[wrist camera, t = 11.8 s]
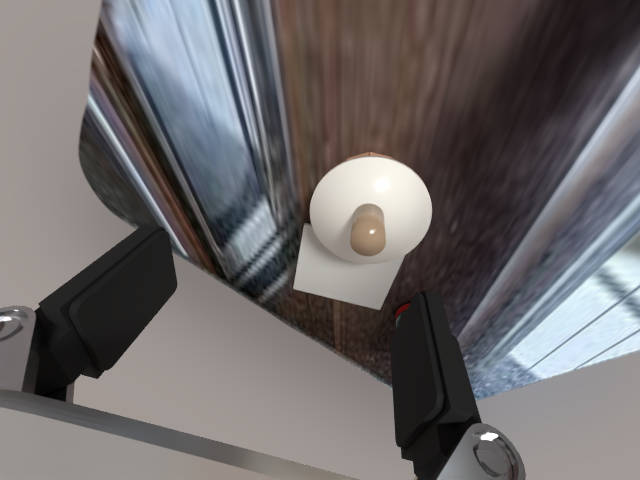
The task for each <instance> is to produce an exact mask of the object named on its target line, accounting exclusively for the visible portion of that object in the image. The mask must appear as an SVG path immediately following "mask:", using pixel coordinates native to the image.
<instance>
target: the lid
mask: <svg viewBox="0 0 640 480" xmlns="http://www.w3.org/2000/svg"><path fill="white" fill-rule="evenodd" d="M431 217H432V204H431V199H430V195H429V193H428V190H427V188H426V186H425V184H424V182H423V181H422V179H421V178H420V177H419V176H418V175H417V173H416V172H414V171H413V170H412V169H411V168H410V167H408V166H406V165H405V164H403V163H401V162H399V161H397V160H394V159H391V158H388V157H382V156H360V157H356V158H352V159H349V160H347V161H344V162H342V163H340V164H338V165H337V166H335V167H334V168H332V169H331V170H330V171H329V172H328V173H327V174H325V175H324V177H323V178H322V179H321V180H320V182H319V183H318V185H317V187H316V189H315V191H314V194H313V196H312V199H311V203H310V220H311V224H312V227H313V230H314V232H315V234H316V236H317V237H318V239H319V240H320V242H321V243H322V244H323V245H324V246H325V247H326V248H327V249H328V250H329V251H331V252H332V253H334V254H335V255H337V256H339V257H340V258H343V259H345V260H348V261H351V262H355V263H360V264H380V263H385V262H389V261H392V260H395V259H398V258H400V257H402V256H404V255H405V254H407V253H409V252H410V251H411V250H412V249H414V248H415V247H416V246H417V245H418V244H419V243H420V241H421V240H422V239H423V238H424V236H425V234H426V232H427V230H428V228H429V225H430V222H431Z"/></svg>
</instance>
